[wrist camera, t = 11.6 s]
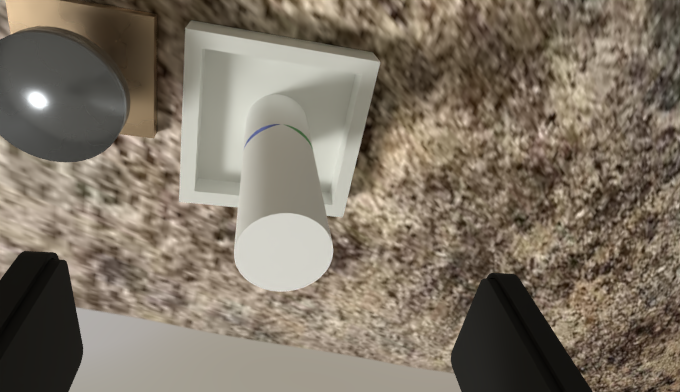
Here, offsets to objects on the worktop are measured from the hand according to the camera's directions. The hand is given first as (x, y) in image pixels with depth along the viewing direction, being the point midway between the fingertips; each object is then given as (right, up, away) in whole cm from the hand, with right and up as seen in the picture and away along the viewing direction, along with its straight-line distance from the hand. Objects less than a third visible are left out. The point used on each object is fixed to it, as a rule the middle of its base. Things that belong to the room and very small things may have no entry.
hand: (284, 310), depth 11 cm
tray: (-4, +8, +23) cm, 24 cm away
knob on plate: (-15, +11, +19) cm, 26 cm away
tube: (-3, +8, +22) cm, 24 cm away
